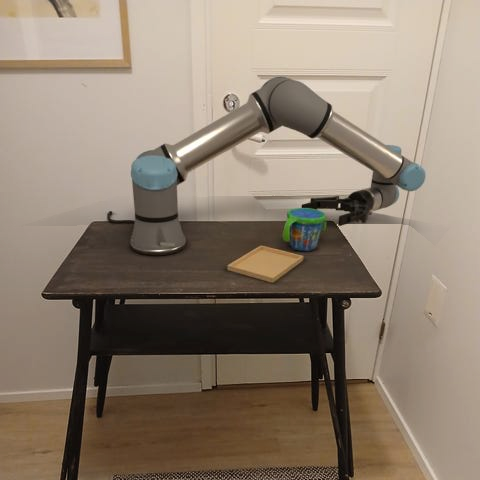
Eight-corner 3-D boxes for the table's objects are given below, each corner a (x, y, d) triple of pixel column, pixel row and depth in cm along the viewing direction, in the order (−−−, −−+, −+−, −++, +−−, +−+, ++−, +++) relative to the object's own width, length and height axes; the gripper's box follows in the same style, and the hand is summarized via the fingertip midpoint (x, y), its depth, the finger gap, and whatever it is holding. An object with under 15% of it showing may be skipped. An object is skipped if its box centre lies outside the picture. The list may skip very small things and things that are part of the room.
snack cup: (311, 237, 146) (315, 204, 141) (335, 248, 139) (340, 213, 134) (270, 246, 139) (272, 211, 134) (293, 259, 131) (296, 222, 126)
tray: (227, 270, 124) (227, 265, 123) (260, 249, 137) (261, 245, 136) (272, 282, 118) (273, 278, 117) (303, 260, 131) (303, 255, 130)
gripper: (396, 223, 145) (354, 239, 133) (330, 204, 161) (287, 217, 148) (401, 199, 142) (358, 212, 129) (332, 181, 157) (288, 192, 145)
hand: (320, 215), depth 139 cm, fingers open, 13 cm apart
